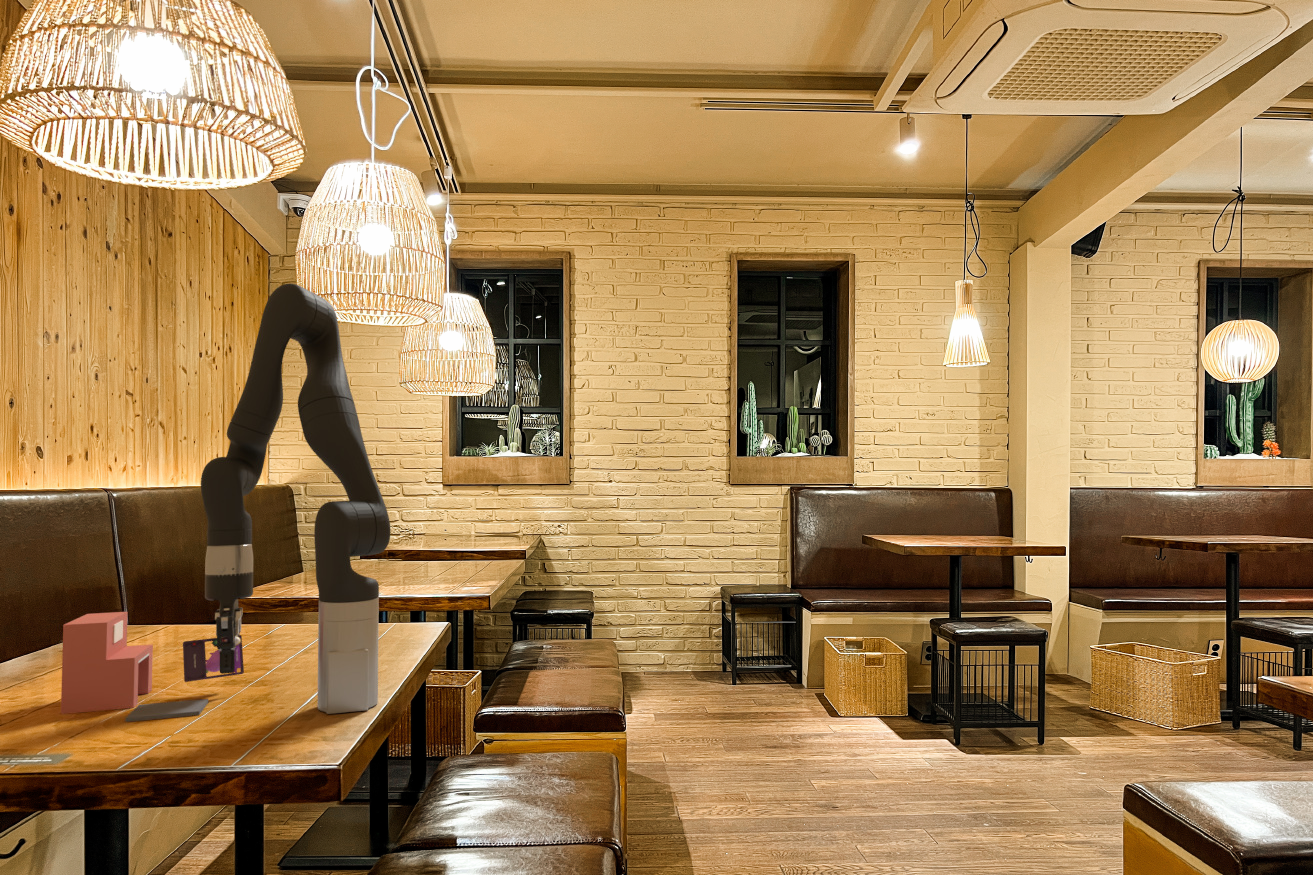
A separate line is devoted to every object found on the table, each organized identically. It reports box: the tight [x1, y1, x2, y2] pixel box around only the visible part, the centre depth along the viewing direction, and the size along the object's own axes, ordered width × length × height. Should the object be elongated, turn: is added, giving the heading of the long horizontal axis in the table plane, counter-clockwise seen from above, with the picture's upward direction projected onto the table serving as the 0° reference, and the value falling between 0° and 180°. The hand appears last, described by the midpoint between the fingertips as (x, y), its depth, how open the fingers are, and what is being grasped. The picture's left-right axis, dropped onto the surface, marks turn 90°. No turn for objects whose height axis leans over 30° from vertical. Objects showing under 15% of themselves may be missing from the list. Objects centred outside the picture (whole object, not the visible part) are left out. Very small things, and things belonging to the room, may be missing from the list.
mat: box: [124, 698, 209, 723], centre depth 131 cm, size 8×10×1 cm
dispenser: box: [60, 611, 154, 715], centre depth 138 cm, size 12×10×14 cm
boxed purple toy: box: [182, 635, 245, 683], centre depth 142 cm, size 7×5×9 cm
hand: (228, 669), depth 143 cm, fingers closed on boxed purple toy, 3 cm apart
